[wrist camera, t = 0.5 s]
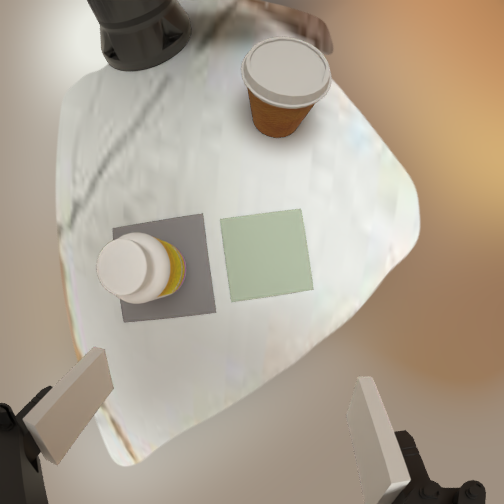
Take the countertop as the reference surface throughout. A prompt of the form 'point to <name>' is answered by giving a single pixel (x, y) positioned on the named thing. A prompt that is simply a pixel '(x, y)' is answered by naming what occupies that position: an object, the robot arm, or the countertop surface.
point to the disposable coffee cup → (284, 83)
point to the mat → (266, 255)
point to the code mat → (197, 270)
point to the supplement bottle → (140, 268)
